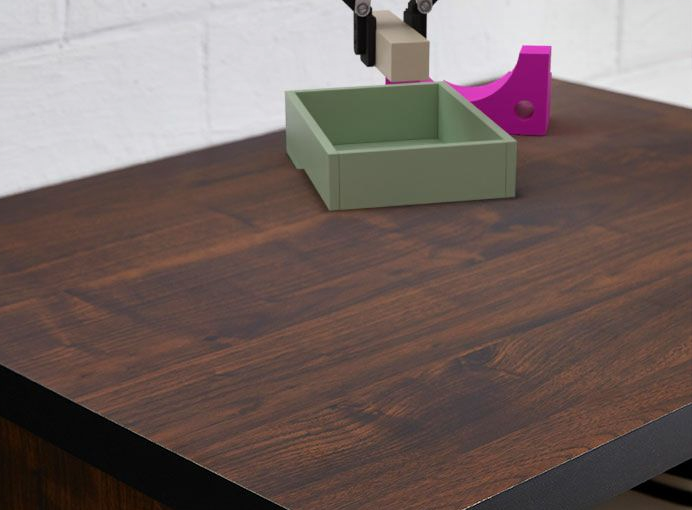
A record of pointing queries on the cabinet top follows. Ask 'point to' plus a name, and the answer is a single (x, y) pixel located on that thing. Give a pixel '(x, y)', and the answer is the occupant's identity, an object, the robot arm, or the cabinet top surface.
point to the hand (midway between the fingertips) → (389, 60)
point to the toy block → (515, 93)
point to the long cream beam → (400, 49)
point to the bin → (397, 145)
